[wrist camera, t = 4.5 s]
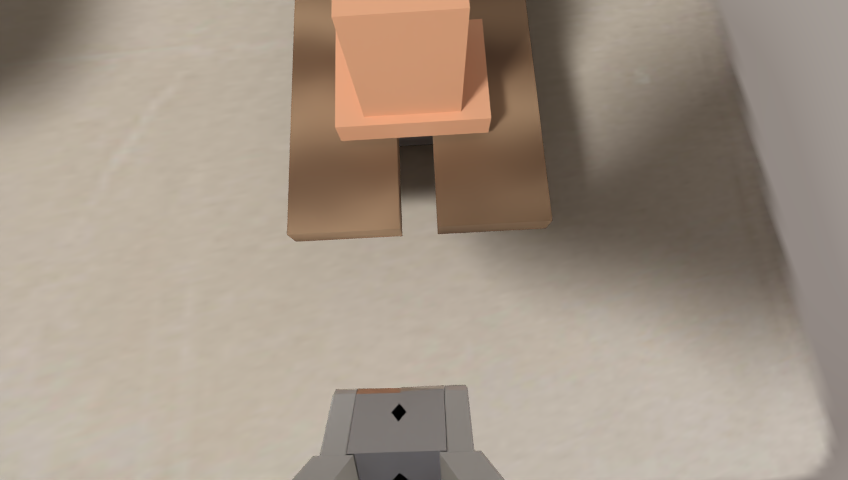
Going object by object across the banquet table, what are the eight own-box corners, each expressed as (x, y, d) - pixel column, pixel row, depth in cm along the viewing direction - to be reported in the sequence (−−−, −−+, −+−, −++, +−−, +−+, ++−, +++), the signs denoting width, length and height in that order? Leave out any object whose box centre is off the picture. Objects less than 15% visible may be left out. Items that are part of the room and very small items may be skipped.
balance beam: (537, 254, 31) (572, 218, 23) (313, 265, 32) (267, 234, 23) (498, -98, 39) (514, -221, 31) (319, -85, 40) (286, -203, 31)
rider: (485, 144, 25) (513, 17, 16) (346, 152, 25) (289, 31, 16) (477, 53, 27) (498, -114, 17) (346, 62, 27) (294, -99, 17)
